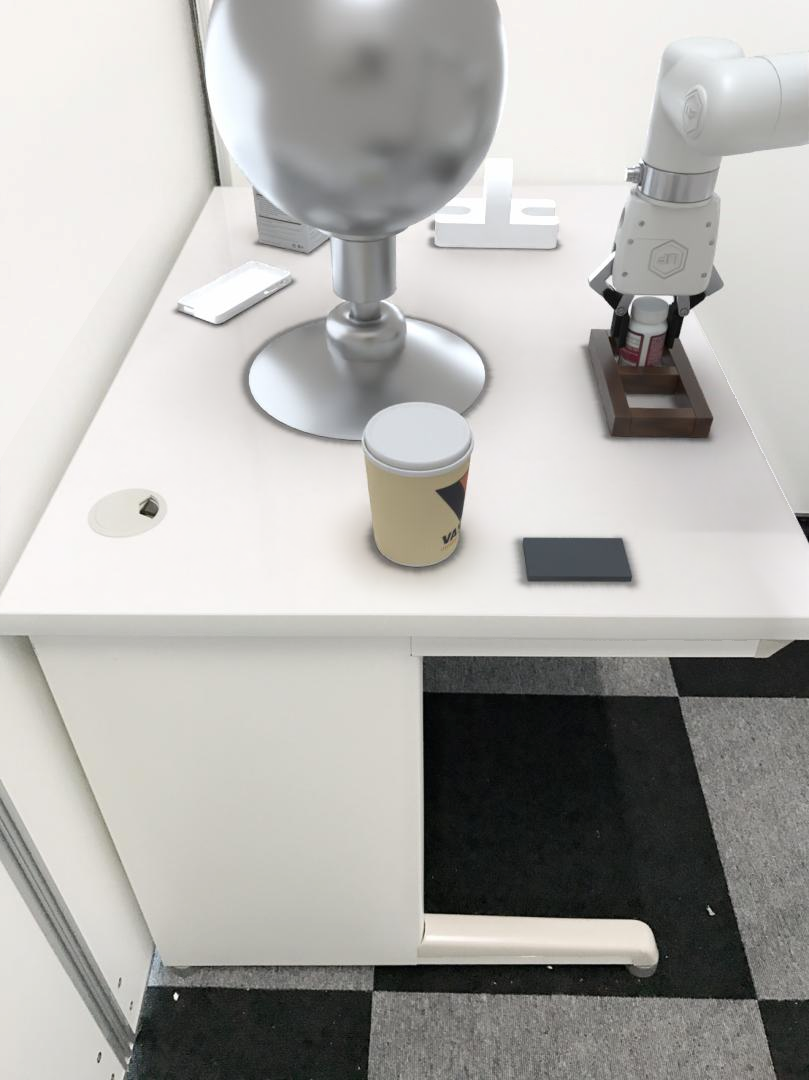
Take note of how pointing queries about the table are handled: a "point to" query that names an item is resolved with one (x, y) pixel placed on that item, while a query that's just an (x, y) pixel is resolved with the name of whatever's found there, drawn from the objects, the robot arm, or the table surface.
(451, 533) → the coffee cup
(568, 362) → the table surface
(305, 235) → the white product box
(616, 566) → the pad
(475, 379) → the silver goblet
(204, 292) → the phone case
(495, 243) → the white stand
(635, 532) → the table surface
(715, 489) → the table surface
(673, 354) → the rack
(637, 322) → the pill bottle
